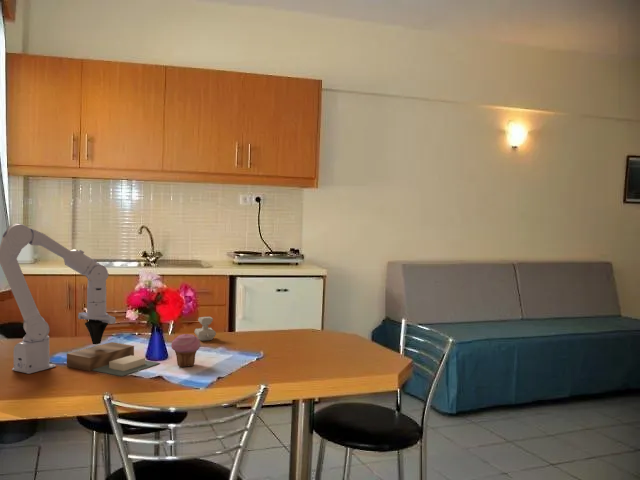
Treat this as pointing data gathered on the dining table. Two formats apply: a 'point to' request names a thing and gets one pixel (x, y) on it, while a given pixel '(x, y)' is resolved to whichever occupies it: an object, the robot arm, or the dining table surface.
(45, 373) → the dining table surface
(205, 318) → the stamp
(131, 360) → the beige flat block
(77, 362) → the panel
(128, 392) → the dining table surface
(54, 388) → the dining table surface
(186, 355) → the cupcake
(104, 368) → the mat
